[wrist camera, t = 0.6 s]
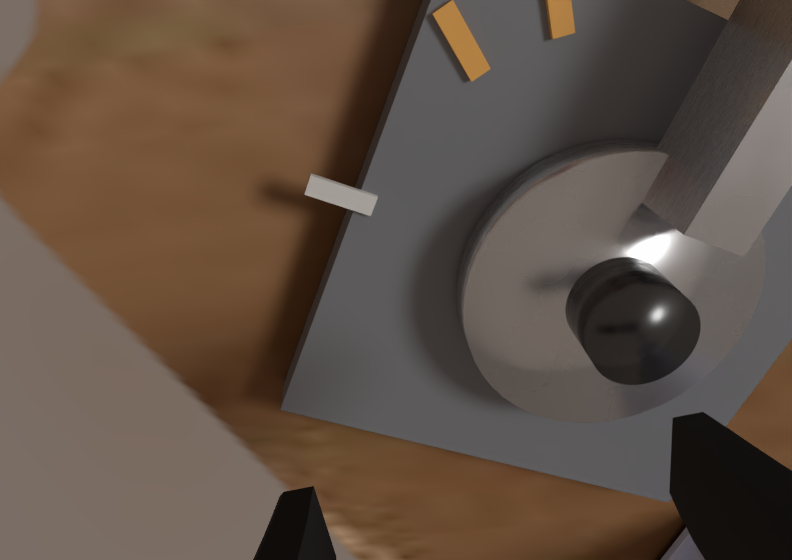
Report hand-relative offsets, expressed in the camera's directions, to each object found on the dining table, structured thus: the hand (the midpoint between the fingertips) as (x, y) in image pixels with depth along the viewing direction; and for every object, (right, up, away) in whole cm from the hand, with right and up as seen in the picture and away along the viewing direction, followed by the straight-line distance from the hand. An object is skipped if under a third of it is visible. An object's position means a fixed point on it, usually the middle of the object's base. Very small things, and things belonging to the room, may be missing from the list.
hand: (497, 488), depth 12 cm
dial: (+6, +7, +6) cm, 11 cm away
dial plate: (+4, +5, +9) cm, 11 cm away
